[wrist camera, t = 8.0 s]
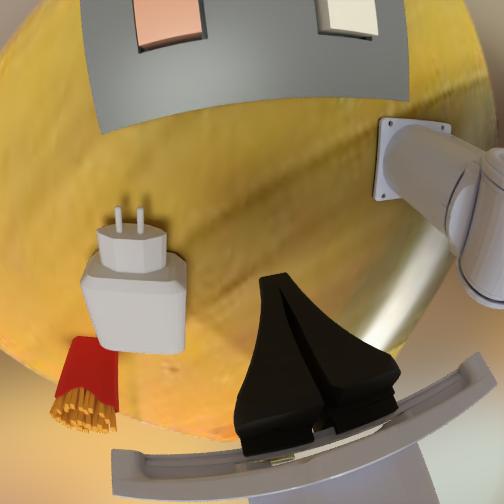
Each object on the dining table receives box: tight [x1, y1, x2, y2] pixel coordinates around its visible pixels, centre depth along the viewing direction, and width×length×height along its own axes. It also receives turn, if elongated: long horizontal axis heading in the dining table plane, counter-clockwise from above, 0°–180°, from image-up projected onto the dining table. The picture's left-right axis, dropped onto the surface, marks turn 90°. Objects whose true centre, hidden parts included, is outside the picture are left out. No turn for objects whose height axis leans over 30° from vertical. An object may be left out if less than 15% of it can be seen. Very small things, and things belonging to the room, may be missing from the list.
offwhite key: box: [314, 0, 378, 38], centre depth 11 cm, size 3×3×3 cm
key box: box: [80, 0, 409, 135], centre depth 11 cm, size 20×12×4 cm, turn 96°
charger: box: [80, 206, 187, 354], centre depth 22 cm, size 5×9×15 cm
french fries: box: [50, 336, 119, 434], centre depth 25 cm, size 8×4×12 cm, turn 81°
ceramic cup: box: [257, 454, 295, 465], centre depth 61 cm, size 13×10×10 cm
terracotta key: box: [133, 0, 202, 51], centre depth 10 cm, size 3×3×3 cm
